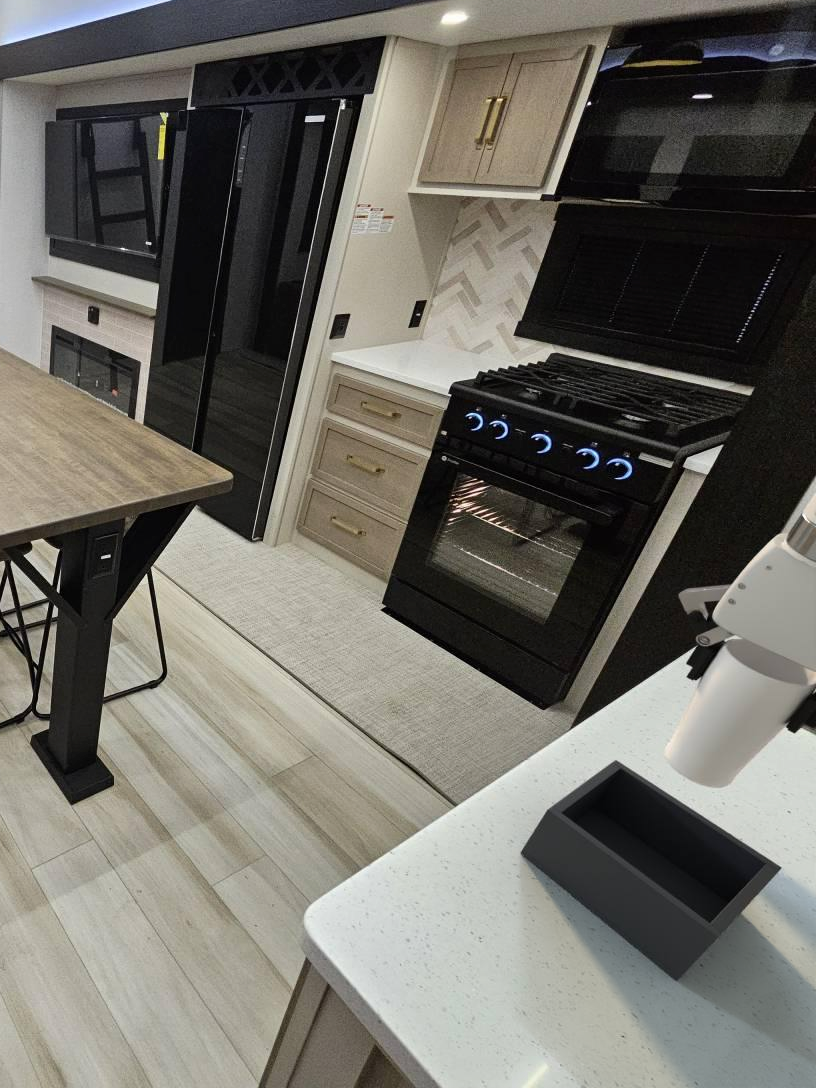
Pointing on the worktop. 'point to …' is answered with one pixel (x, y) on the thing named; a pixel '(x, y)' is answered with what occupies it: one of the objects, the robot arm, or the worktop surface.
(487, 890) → the worktop surface
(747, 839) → the worktop surface
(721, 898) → the bin
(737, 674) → the white cup
